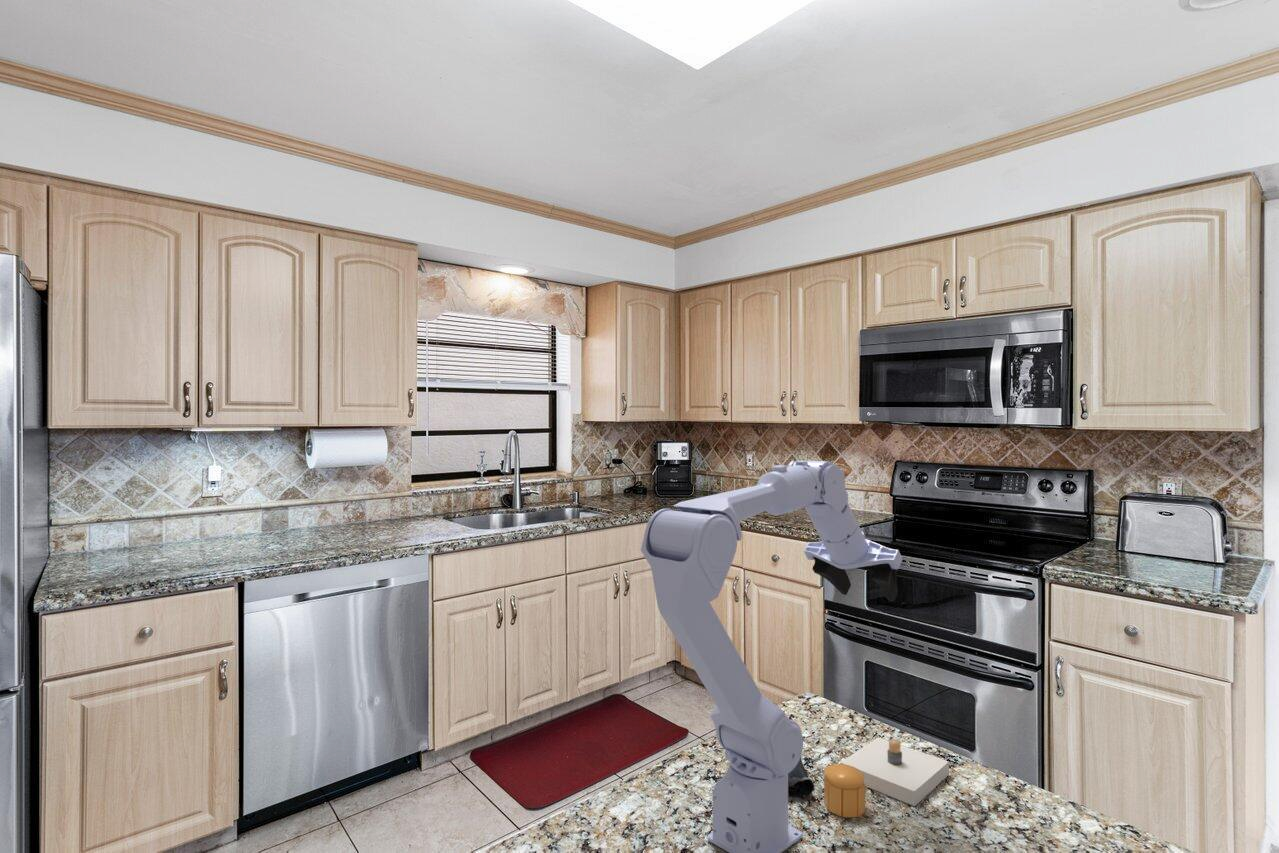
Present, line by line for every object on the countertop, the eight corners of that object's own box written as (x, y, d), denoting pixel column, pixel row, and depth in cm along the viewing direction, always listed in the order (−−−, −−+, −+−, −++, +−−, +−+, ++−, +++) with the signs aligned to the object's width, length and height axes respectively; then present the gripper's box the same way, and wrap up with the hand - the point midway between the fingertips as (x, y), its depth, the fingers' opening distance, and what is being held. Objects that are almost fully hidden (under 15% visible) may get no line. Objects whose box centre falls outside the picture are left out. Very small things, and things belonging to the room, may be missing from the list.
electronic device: (821, 810, 90) (794, 745, 105) (817, 773, 89) (790, 713, 104) (755, 819, 90) (737, 752, 105) (750, 782, 89) (733, 721, 104)
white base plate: (914, 806, 88) (914, 769, 88) (840, 776, 96) (840, 741, 96) (949, 775, 96) (948, 741, 96) (878, 749, 104) (878, 718, 104)
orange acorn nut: (852, 821, 84) (852, 786, 84) (818, 806, 88) (818, 772, 88) (870, 807, 87) (870, 773, 88) (837, 792, 91) (836, 760, 91)
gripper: (895, 511, 90) (925, 579, 96) (805, 508, 101) (836, 568, 106) (878, 548, 86) (910, 616, 92) (786, 540, 97) (819, 601, 102)
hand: (869, 593), depth 99 cm, fingers open, 7 cm apart
